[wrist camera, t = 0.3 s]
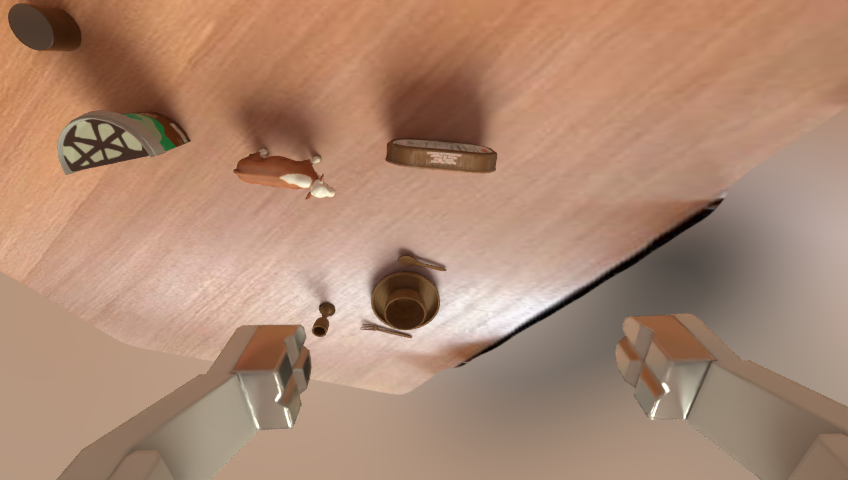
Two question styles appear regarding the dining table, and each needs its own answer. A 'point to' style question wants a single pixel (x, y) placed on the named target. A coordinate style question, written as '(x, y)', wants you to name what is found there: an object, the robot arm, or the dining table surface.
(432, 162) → the tin
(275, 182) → the bull figurine
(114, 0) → the dining table surface
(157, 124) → the food container
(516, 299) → the dining table surface
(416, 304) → the place setting
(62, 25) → the brown cylinder
